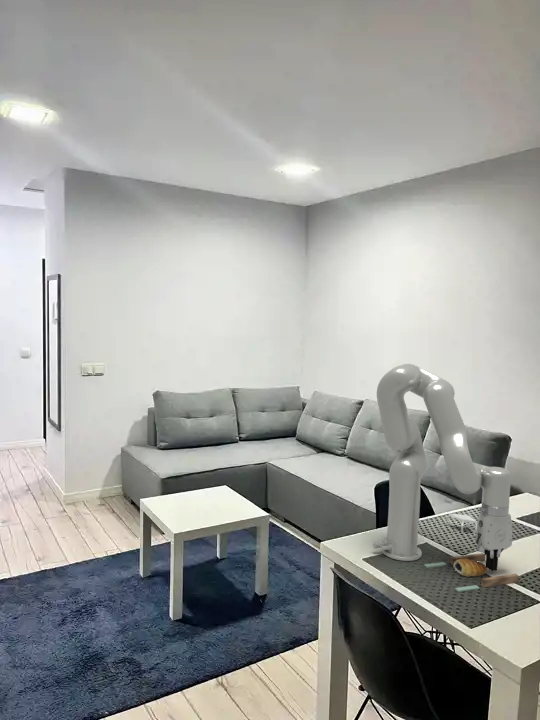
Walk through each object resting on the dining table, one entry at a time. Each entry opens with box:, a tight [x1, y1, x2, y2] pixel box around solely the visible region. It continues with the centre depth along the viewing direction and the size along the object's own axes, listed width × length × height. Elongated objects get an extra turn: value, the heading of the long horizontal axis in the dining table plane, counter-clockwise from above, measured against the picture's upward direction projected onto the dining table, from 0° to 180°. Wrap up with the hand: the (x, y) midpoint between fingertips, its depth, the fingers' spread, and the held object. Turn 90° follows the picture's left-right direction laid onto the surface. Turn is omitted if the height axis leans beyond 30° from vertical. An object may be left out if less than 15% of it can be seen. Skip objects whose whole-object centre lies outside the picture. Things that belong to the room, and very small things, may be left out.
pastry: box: [452, 559, 488, 578], centre depth 168 cm, size 9×7×4 cm
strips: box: [424, 561, 480, 593], centre depth 165 cm, size 7×16×1 cm, turn 19°
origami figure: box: [445, 513, 478, 536], centre depth 202 cm, size 12×8×5 cm
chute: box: [449, 552, 520, 588], centre depth 168 cm, size 12×15×2 cm
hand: (491, 568), depth 169 cm, fingers closed
